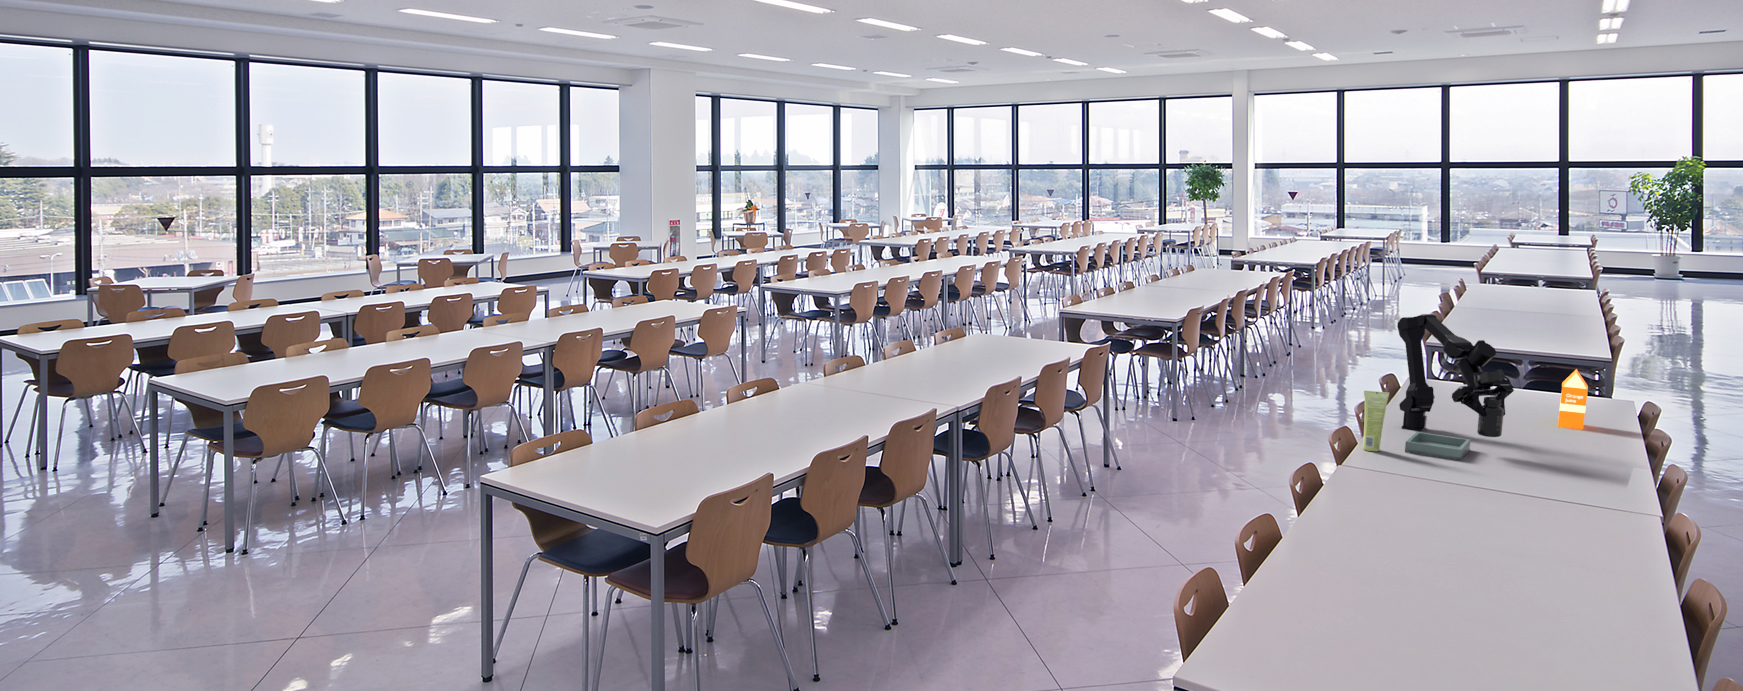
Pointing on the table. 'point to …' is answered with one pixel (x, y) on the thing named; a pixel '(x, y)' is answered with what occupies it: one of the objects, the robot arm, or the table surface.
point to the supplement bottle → (1491, 418)
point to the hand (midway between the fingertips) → (1494, 415)
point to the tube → (1374, 419)
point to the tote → (1437, 446)
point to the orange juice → (1573, 402)
